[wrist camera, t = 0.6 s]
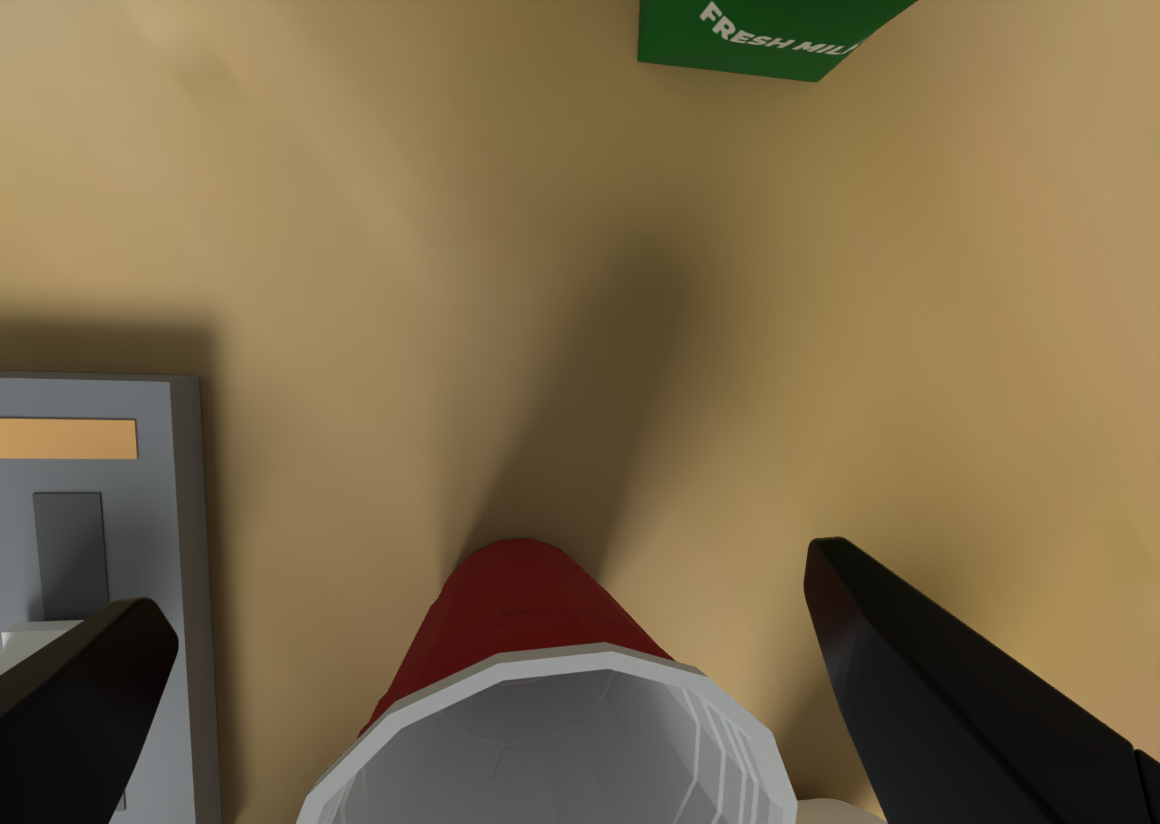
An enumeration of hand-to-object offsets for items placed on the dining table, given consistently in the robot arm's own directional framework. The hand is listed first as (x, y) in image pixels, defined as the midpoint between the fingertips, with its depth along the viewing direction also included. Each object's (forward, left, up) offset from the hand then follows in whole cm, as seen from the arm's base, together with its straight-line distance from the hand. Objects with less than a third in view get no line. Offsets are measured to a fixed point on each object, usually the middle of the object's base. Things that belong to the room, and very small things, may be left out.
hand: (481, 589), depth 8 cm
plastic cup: (-8, -2, -14) cm, 16 cm away
